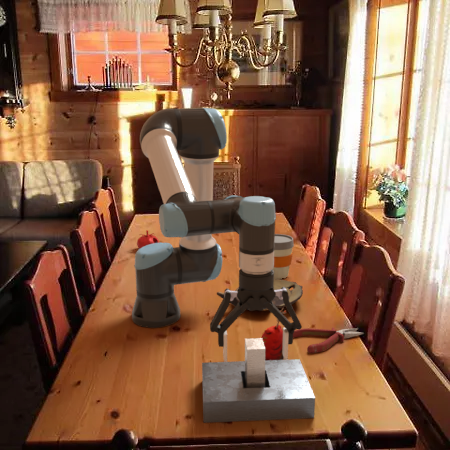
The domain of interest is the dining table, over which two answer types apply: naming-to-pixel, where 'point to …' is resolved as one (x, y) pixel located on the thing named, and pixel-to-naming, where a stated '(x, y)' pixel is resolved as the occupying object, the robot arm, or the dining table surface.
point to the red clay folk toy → (273, 342)
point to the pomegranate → (146, 240)
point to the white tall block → (254, 363)
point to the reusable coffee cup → (282, 255)
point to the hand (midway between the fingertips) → (255, 357)
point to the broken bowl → (278, 284)
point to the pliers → (327, 333)
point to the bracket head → (256, 392)
